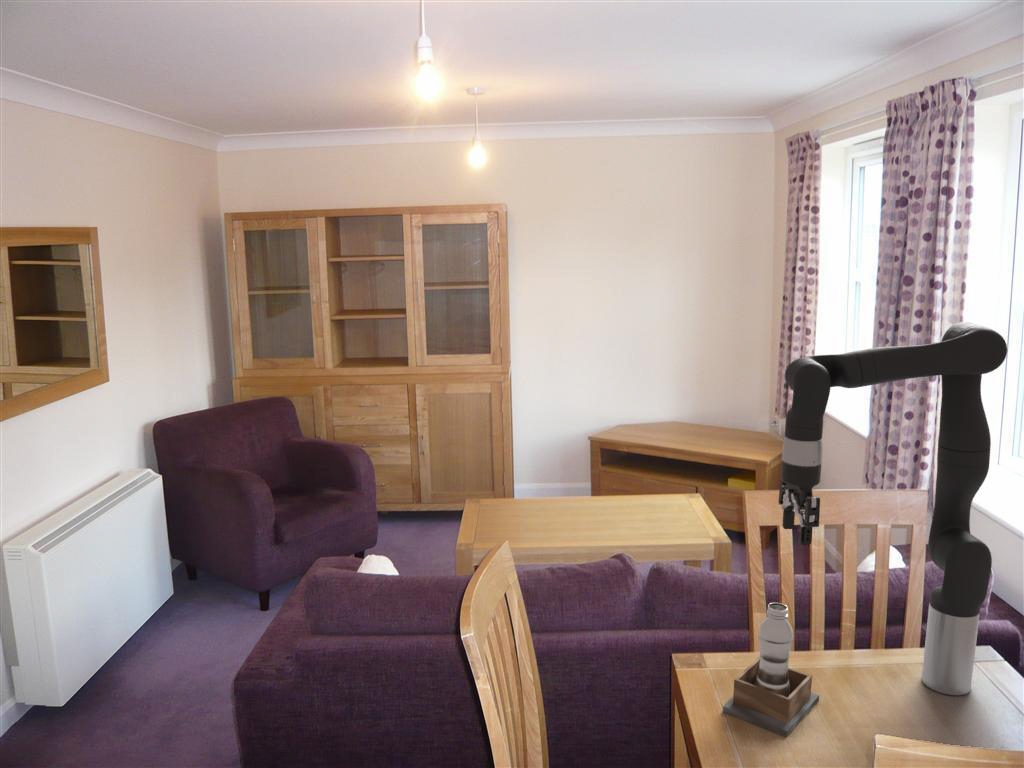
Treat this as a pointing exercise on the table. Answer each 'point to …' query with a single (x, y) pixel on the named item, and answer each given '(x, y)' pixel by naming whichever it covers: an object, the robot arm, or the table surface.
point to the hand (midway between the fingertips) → (796, 536)
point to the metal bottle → (775, 650)
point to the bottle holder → (771, 701)
